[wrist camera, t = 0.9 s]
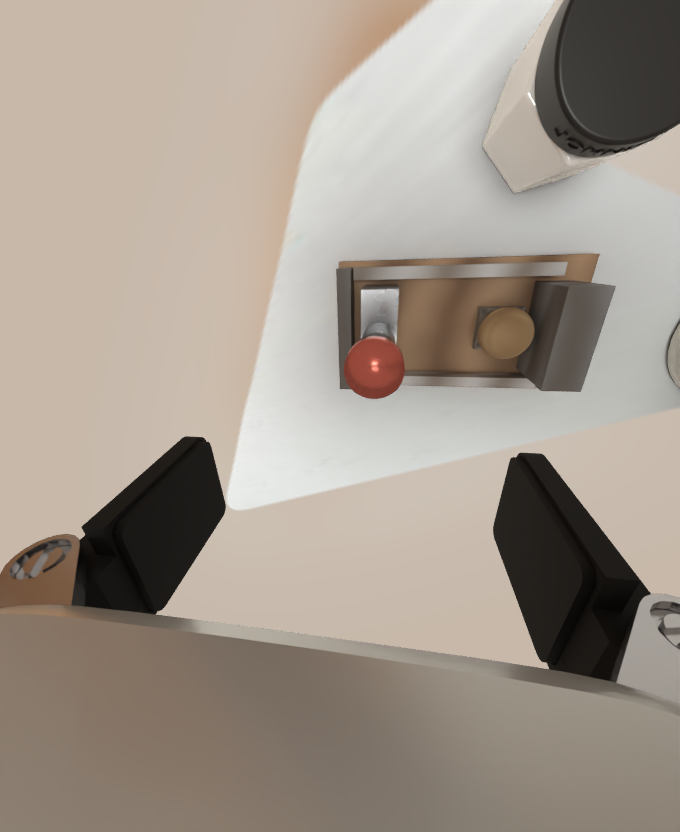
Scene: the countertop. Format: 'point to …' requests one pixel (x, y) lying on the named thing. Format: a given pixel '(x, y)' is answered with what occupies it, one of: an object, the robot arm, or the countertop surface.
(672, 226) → the countertop surface
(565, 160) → the jar
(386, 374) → the handle
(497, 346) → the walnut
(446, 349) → the press base
